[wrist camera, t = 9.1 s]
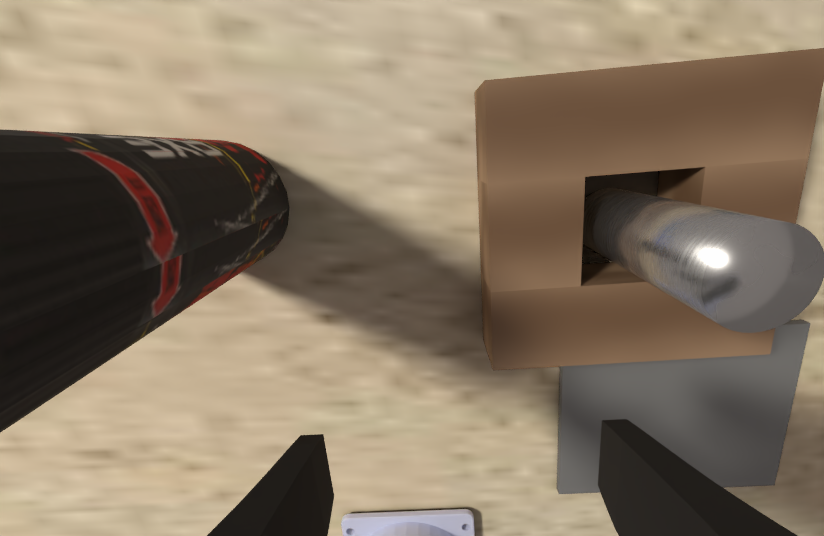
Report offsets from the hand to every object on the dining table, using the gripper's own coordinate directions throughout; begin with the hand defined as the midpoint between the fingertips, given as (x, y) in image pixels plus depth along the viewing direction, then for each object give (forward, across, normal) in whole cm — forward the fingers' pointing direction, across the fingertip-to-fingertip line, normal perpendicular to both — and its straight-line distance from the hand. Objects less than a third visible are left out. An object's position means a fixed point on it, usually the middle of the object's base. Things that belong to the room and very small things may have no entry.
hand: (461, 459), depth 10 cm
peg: (+10, -8, -4) cm, 14 cm away
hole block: (+10, -8, -4) cm, 14 cm away
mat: (+10, -12, +7) cm, 17 cm away
